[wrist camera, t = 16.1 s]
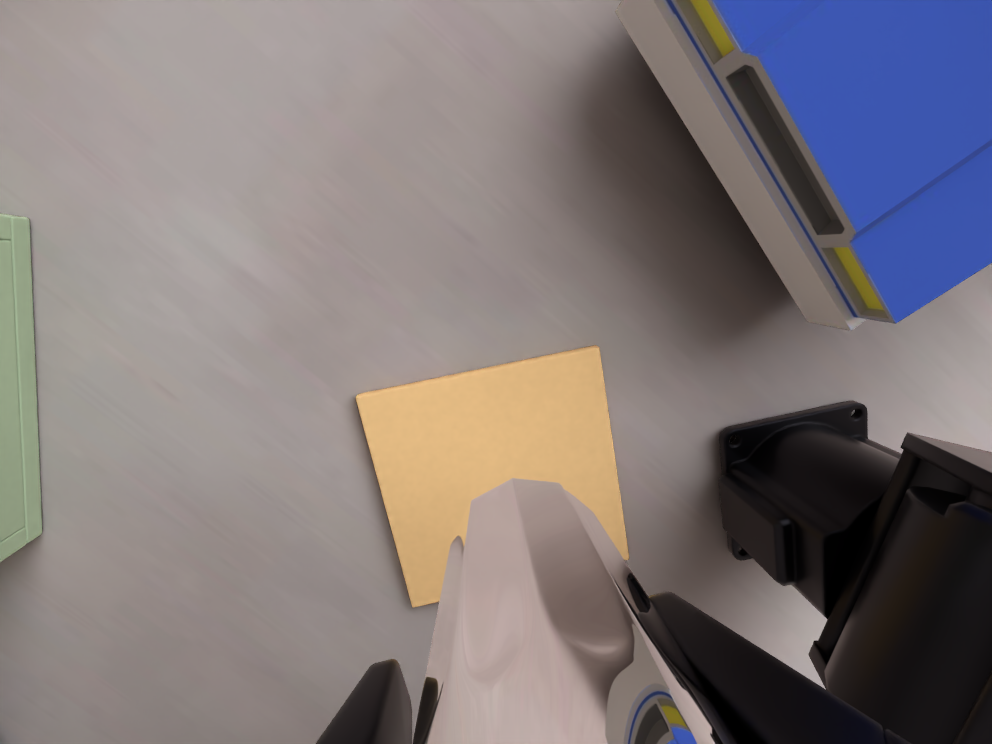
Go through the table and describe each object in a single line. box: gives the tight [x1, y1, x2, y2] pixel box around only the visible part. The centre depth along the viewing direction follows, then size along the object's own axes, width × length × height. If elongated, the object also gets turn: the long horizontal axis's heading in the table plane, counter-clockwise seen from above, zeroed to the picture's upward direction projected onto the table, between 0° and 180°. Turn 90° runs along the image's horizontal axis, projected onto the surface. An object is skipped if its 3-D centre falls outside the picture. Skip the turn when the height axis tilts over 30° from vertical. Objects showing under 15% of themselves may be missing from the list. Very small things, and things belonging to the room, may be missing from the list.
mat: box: [356, 345, 629, 608], centre depth 21 cm, size 10×10×1 cm
